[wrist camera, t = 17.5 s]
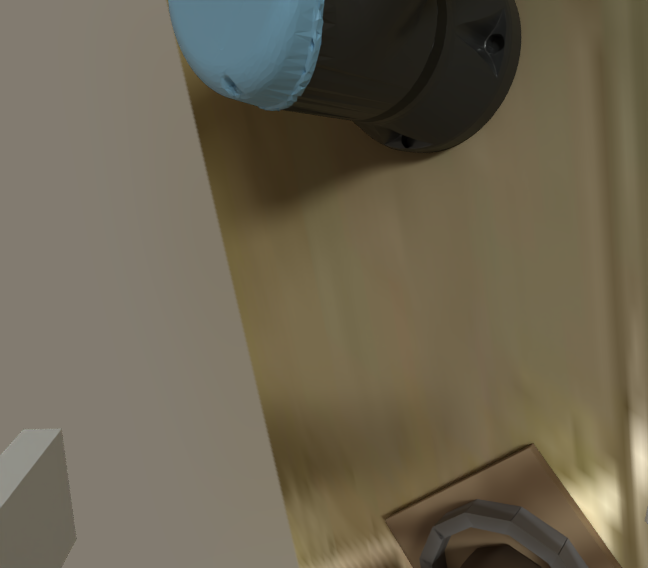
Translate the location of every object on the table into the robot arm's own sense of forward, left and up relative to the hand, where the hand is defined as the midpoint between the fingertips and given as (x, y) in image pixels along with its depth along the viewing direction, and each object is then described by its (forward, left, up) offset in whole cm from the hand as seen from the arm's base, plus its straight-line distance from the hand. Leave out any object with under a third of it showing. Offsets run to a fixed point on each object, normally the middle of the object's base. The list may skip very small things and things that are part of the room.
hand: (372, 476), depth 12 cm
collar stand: (+15, -23, -33) cm, 43 cm away
